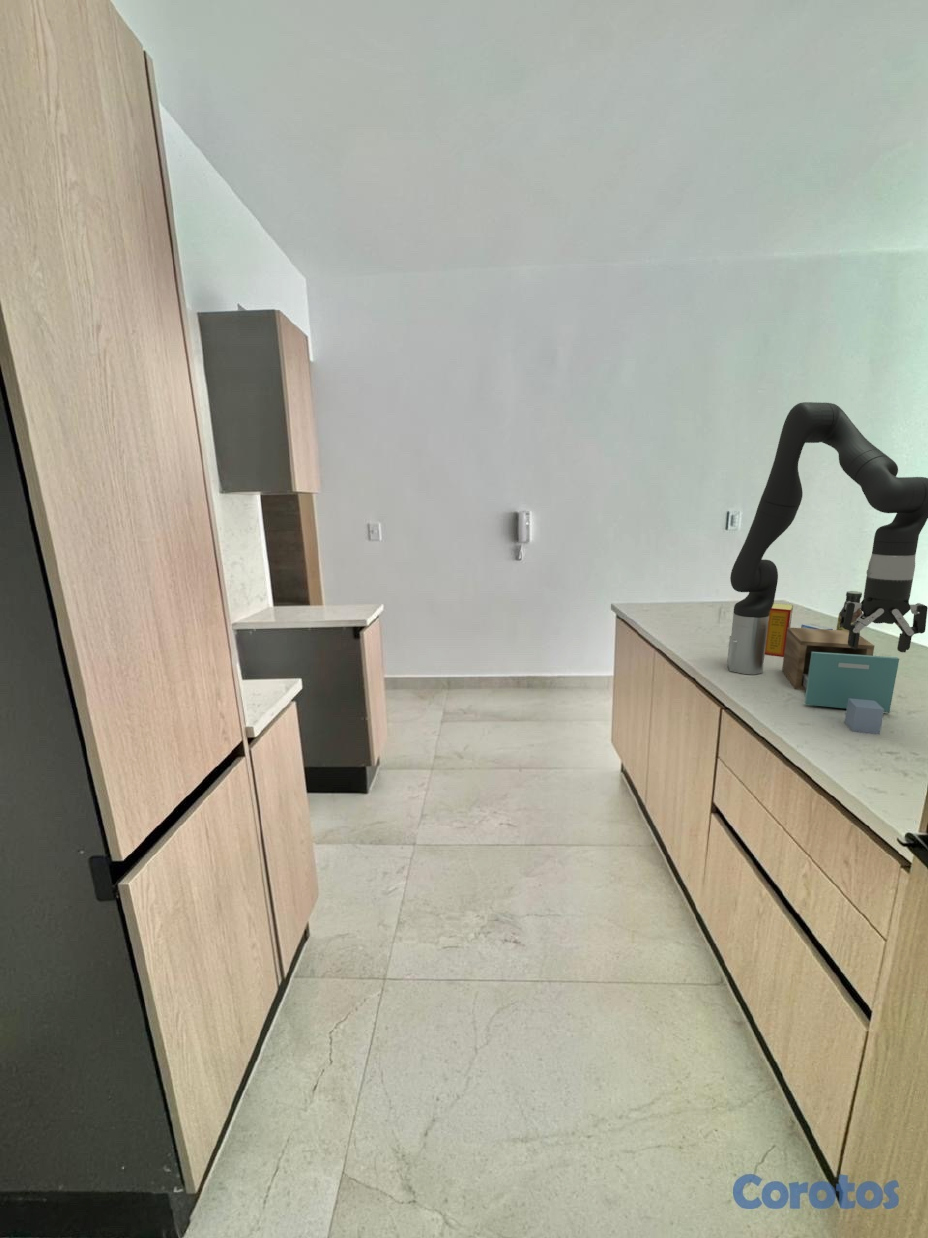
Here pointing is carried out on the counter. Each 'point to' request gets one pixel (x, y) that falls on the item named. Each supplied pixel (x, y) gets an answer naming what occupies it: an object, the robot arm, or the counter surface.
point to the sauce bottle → (854, 597)
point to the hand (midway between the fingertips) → (877, 649)
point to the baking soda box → (778, 629)
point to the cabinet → (815, 650)
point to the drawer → (849, 679)
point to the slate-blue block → (864, 716)
